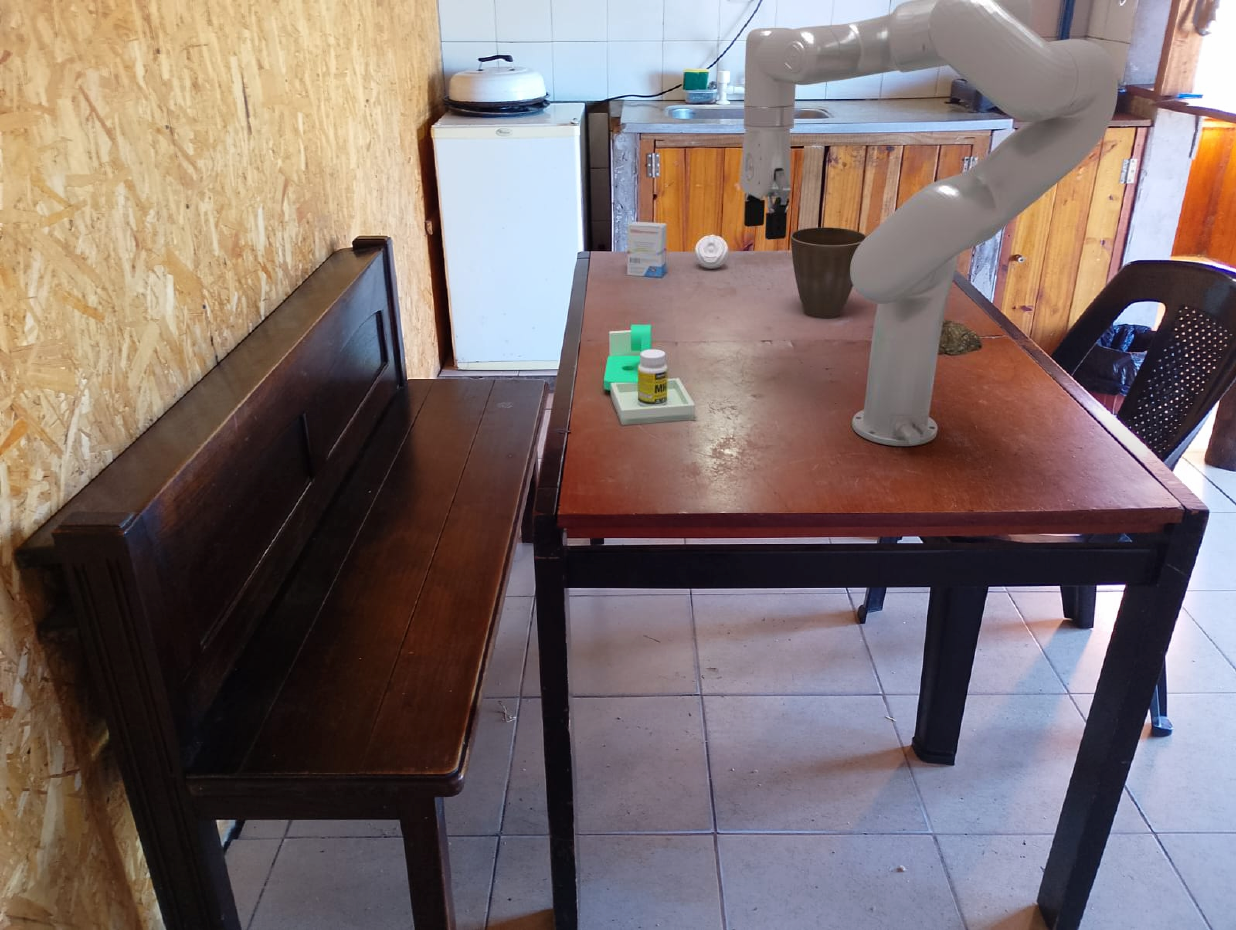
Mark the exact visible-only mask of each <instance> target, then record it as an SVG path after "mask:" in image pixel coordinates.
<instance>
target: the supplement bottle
mask: <svg viewBox="0 0 1236 930" xmlns="http://www.w3.org/2000/svg"><path fill="white" fill-rule="evenodd" d="M640 362H641V363H640V364H639V366H638V402H639V404H640V405H642V406H645V407H649V406H663V405H665V404H666V403H667V379H668V372H669V371H668V365H667V364H666V352H665V351H663V350H660V349H652V348H651V349H650V350H645V351H642V352H641V353H640Z"/></svg>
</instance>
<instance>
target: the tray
mask: <svg viewBox="0 0 1236 930" xmlns="http://www.w3.org/2000/svg"><path fill="white" fill-rule="evenodd" d="M610 388H611V390H610V399H611V402H612V403H613V406H614V409H615V411H616V413H617V417H618V419H619V421H620V424H621V426H630V425H632V426H633V425H642V424H654V423H655V424H657V423H668V422H683V421H692V420H693V421H695V420H696V419H695V412H696V406H695V403H694V401H693V399H692V398H691V396H690V394H689V393H688V391H687V390H686V388H685V386H684V383H682V381H681V379H680V378H679V377H676V378H667V403H666V404H665V405H663V406H649V407H645V406H642V405H640V404H639V402H638V387H637V383H610Z"/></svg>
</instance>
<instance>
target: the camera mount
mask: <svg viewBox="0 0 1236 930" xmlns="http://www.w3.org/2000/svg"><path fill="white" fill-rule="evenodd" d="M630 330H631V351H641V352H642V351H645V350H650V349H652V324H631V326H630ZM640 363H641V362H640V356H610V355H609V356H608V357H607V360H606V366H605V371H604V377H603V389H604V390H607V391H611V388H610V383H637V387H638V366H639V364H640Z"/></svg>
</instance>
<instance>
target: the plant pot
mask: <svg viewBox="0 0 1236 930" xmlns="http://www.w3.org/2000/svg"><path fill="white" fill-rule="evenodd" d="M867 236H868V235H866V234H865V233H863V232H860V231H857V230H854V229H848V228H841V227H809V228H803V229H798V230H795V231H793V232H792V233H791V234H790V244H791V256H792V265H793V272H794V278H795V282H796V287H797V291H798V296H799V299H800V302H801V306H802V309H803V312H804V314H805V315H806V316H808V317H811V316H812V318H818V319H833V318H836V317H838V316H840V315H841V313H842V311H843V309H844V308H845V305H846V303H847V301H848V299H849V297H850V296H851V295H850V294H851V292H852V289H853V288H854V286H853V284H852V281H851V276H850V266H851V261H852V257H853V255H854V253H855V251H856V249H857V248H858V246H859V245H860V244H861V242H862V241H863V240H864V239H865V238H866V237H867Z"/></svg>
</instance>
